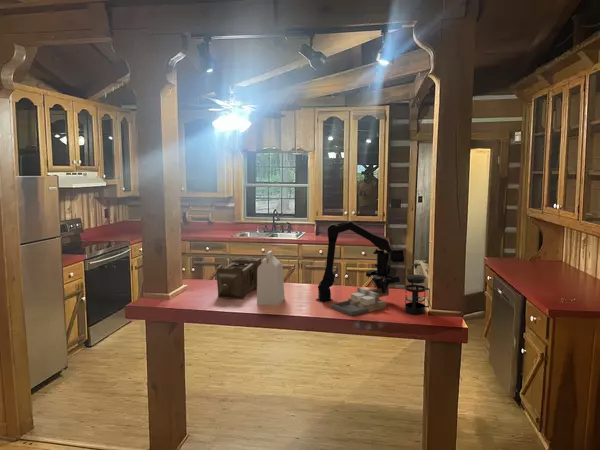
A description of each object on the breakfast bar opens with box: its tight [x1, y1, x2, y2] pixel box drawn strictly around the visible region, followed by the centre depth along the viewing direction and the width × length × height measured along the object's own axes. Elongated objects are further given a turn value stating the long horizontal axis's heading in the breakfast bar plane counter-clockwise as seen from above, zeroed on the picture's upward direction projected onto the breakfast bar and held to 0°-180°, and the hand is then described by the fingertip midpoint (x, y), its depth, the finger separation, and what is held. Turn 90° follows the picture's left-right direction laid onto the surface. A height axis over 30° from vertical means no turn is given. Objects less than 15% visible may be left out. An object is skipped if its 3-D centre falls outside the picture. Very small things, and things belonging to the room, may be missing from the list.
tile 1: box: [350, 292, 365, 301], centre depth 225 cm, size 5×5×2 cm
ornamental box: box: [216, 256, 262, 300], centre depth 248 cm, size 35×18×18 cm, turn 163°
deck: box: [347, 297, 387, 313], centre depth 224 cm, size 15×11×3 cm
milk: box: [256, 250, 286, 306], centre depth 233 cm, size 12×12×26 cm
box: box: [331, 299, 369, 317], centre depth 218 cm, size 15×10×2 cm
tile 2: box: [360, 296, 375, 305], centre depth 219 cm, size 5×5×2 cm
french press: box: [404, 263, 431, 316], centre depth 212 cm, size 12×9×23 cm
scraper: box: [356, 286, 390, 302], centre depth 227 cm, size 14×14×4 cm
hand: (382, 292), depth 229 cm, fingers closed on scraper, 2 cm apart
